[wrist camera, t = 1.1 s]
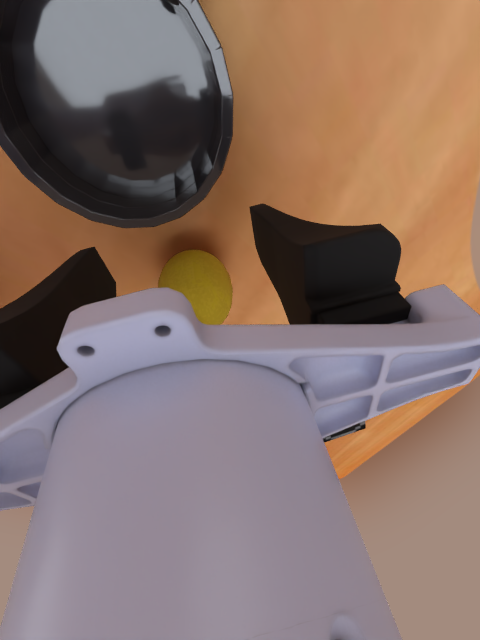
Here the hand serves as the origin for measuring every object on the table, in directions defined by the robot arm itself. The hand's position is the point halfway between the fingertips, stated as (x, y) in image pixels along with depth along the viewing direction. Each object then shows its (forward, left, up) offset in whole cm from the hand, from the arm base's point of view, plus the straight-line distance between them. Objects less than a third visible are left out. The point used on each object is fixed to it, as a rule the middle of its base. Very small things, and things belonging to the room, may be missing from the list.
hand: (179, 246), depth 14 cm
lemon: (-5, -5, -10) cm, 12 cm away
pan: (+2, +4, -10) cm, 11 cm away
